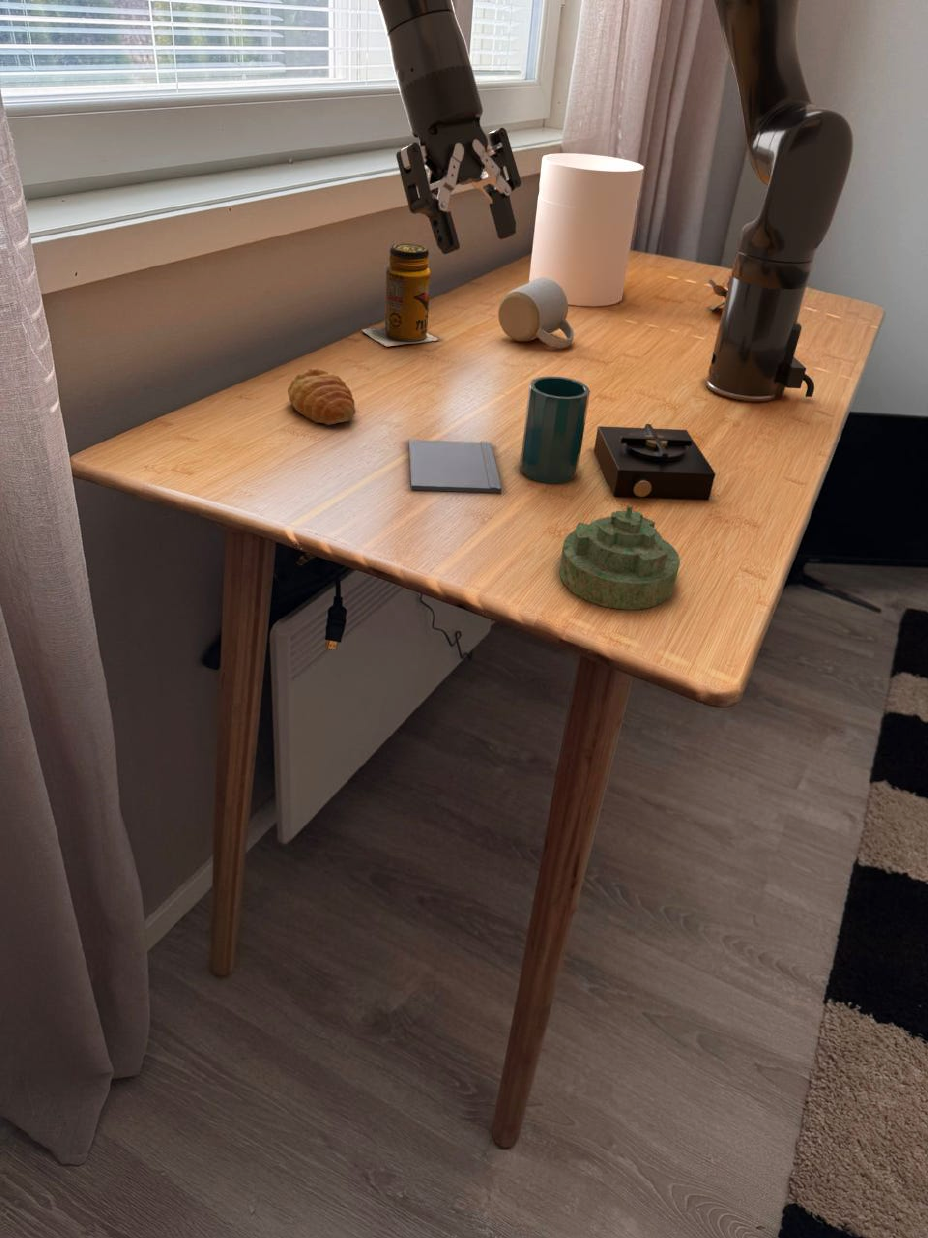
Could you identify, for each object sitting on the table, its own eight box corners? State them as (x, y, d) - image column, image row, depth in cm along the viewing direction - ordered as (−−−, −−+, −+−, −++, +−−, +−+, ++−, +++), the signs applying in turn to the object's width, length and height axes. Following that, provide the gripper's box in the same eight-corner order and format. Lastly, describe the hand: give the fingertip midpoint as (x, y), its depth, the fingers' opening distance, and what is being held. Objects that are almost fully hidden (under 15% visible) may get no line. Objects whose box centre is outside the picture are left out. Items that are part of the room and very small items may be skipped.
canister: (628, 309, 150) (651, 174, 139) (530, 301, 150) (545, 166, 138) (616, 283, 163) (636, 158, 152) (526, 275, 163) (539, 149, 151)
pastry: (370, 423, 104) (370, 391, 102) (314, 433, 101) (313, 399, 99) (334, 394, 111) (334, 363, 109) (281, 402, 108) (280, 370, 106)
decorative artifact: (563, 541, 85) (554, 599, 77) (574, 472, 81) (565, 525, 73) (672, 558, 84) (674, 618, 76) (688, 488, 80) (693, 544, 72)
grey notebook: (490, 447, 102) (491, 442, 101) (500, 493, 93) (501, 487, 92) (408, 443, 101) (408, 438, 100) (411, 490, 92) (411, 484, 91)
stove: (680, 454, 104) (688, 419, 101) (711, 504, 94) (721, 467, 92) (593, 451, 103) (599, 415, 100) (615, 501, 93) (622, 463, 91)
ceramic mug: (491, 336, 133) (497, 281, 129) (521, 324, 139) (528, 271, 135) (554, 356, 129) (563, 300, 124) (582, 342, 135) (591, 289, 130)
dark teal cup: (571, 459, 100) (583, 377, 95) (580, 484, 96) (594, 399, 90) (516, 457, 100) (526, 375, 95) (523, 482, 95) (533, 397, 90)
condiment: (439, 340, 130) (444, 251, 123) (386, 347, 126) (389, 256, 119) (412, 325, 135) (416, 238, 128) (361, 331, 131) (362, 242, 124)
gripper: (404, 67, 85) (455, 248, 90) (508, 55, 93) (550, 222, 99) (358, 97, 91) (409, 266, 96) (460, 83, 99) (502, 240, 104)
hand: (480, 244), depth 97 cm, fingers open, 8 cm apart
